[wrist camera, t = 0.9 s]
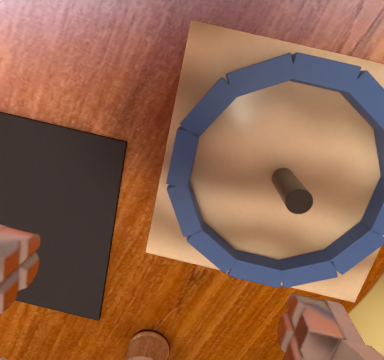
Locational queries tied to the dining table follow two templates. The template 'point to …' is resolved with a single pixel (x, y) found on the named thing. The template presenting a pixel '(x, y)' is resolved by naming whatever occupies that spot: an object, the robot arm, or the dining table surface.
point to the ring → (213, 107)
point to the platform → (271, 160)
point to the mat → (62, 208)
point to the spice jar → (148, 347)
